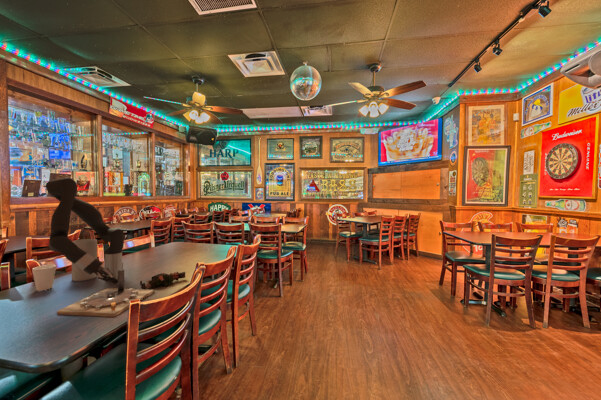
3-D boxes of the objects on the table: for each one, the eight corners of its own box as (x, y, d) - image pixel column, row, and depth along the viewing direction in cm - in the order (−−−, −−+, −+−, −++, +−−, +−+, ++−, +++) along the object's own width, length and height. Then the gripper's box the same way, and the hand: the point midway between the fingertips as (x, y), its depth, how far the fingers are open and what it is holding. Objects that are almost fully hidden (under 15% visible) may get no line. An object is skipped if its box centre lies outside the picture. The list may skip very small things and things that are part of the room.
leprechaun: (137, 282, 147) (179, 269, 166) (142, 297, 145) (184, 282, 164) (141, 277, 141) (185, 264, 160) (146, 293, 138) (189, 277, 157)
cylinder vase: (82, 282, 153) (82, 243, 153) (66, 280, 155) (66, 242, 155) (102, 275, 166) (101, 239, 165) (86, 274, 167) (86, 238, 167)
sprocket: (131, 286, 143) (131, 266, 142) (143, 298, 127) (144, 275, 127) (77, 299, 125) (77, 275, 125) (83, 314, 109) (83, 288, 109)
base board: (107, 290, 141) (107, 285, 141) (154, 292, 139) (154, 287, 139) (57, 314, 113) (57, 307, 113) (114, 316, 111) (114, 310, 111)
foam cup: (28, 293, 135) (28, 270, 135) (37, 287, 144) (37, 265, 143) (52, 290, 140) (51, 268, 139) (58, 285, 148) (58, 263, 148)
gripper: (91, 261, 124) (121, 281, 130) (98, 255, 136) (125, 273, 142) (78, 273, 122) (108, 292, 128) (86, 265, 134) (114, 284, 140)
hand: (117, 282), depth 135 cm, fingers closed
